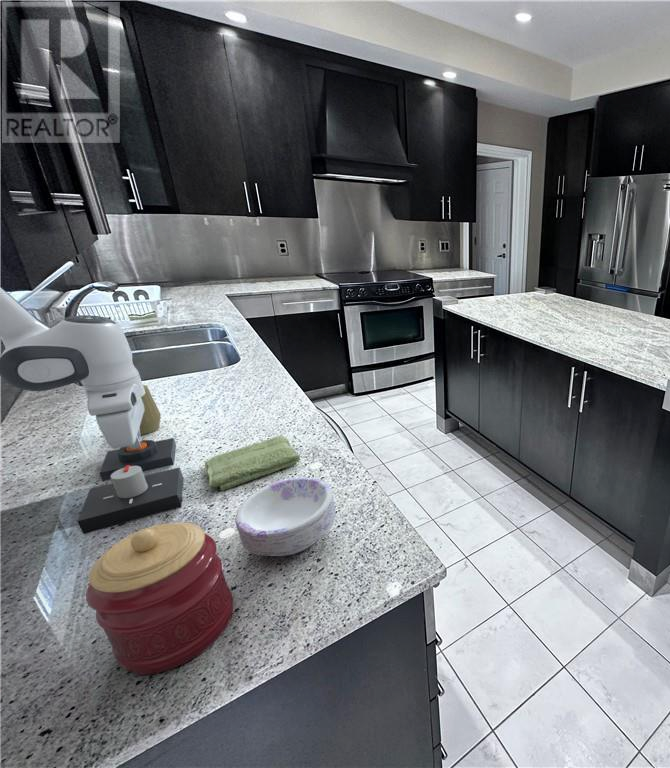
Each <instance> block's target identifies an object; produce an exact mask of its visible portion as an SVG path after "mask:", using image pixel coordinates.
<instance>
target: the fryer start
mask: <svg viewBox="0 0 670 768" xmlns="http://www.w3.org/2000/svg"><path fill="white" fill-rule="evenodd" d="M146 447H148V446H147V443H144V442H142V444H141V448H139V449H135V450H131V449H130V447H129V446H128V447H127V448H126V451H127V452H136V451H140V450H142V449H145V448H146Z"/></svg>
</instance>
